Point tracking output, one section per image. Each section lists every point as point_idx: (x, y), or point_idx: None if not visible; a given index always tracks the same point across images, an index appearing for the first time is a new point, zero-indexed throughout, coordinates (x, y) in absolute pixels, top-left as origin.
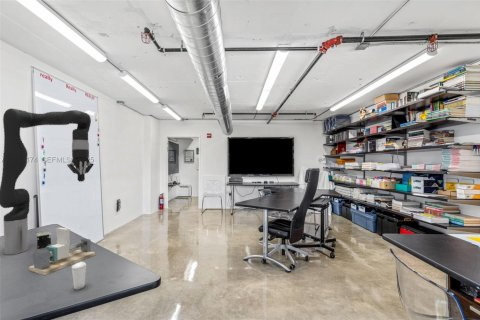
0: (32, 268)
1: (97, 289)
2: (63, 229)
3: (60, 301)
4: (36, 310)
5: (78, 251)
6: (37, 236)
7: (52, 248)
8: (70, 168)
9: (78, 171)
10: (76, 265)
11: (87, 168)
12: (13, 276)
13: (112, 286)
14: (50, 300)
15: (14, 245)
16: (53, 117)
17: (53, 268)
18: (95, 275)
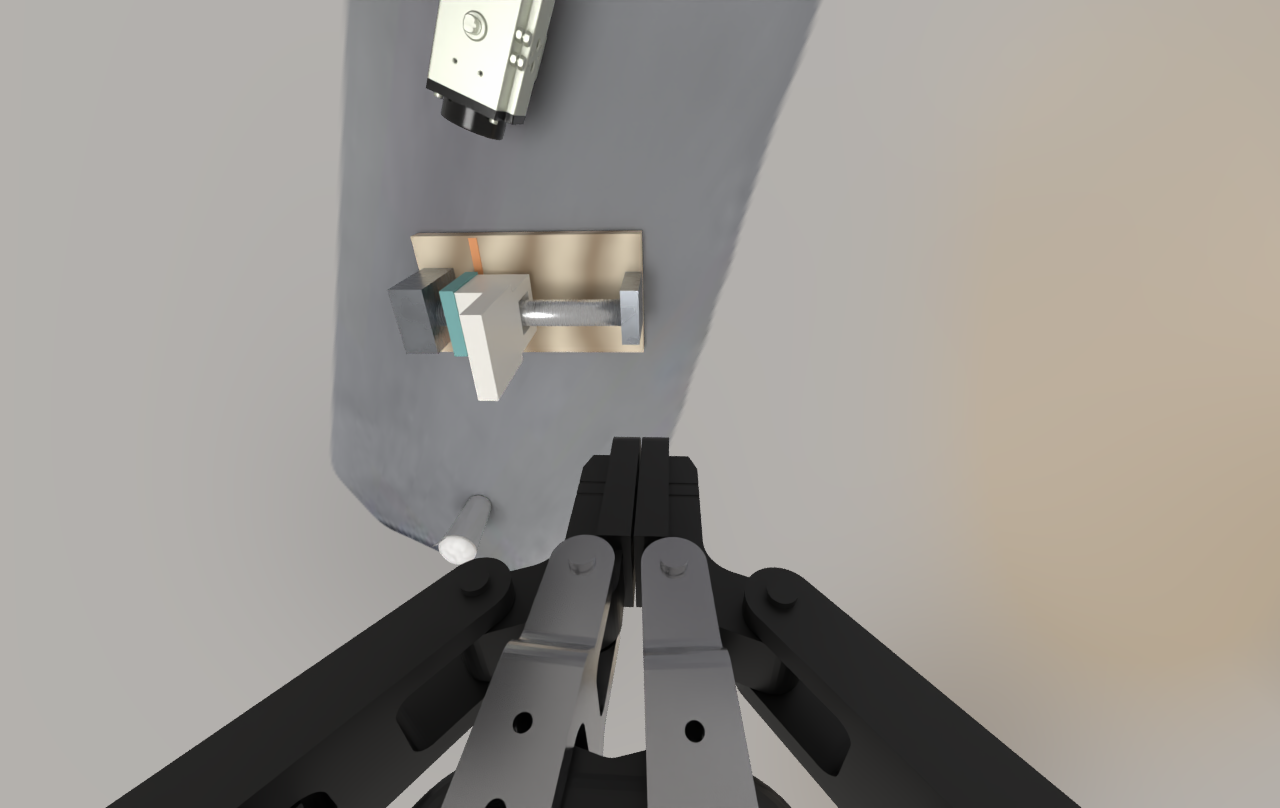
0: (419, 266)
1: (501, 544)
2: (474, 380)
3: (427, 518)
4: (382, 507)
5: (616, 264)
6: (429, 86)
7: (452, 342)
8: (280, 728)
9: (576, 620)
10: (445, 558)
11: (854, 748)
12: (365, 239)
13: (528, 561)
14: (413, 497)
15: None
16: None
17: None
18: (539, 487)
